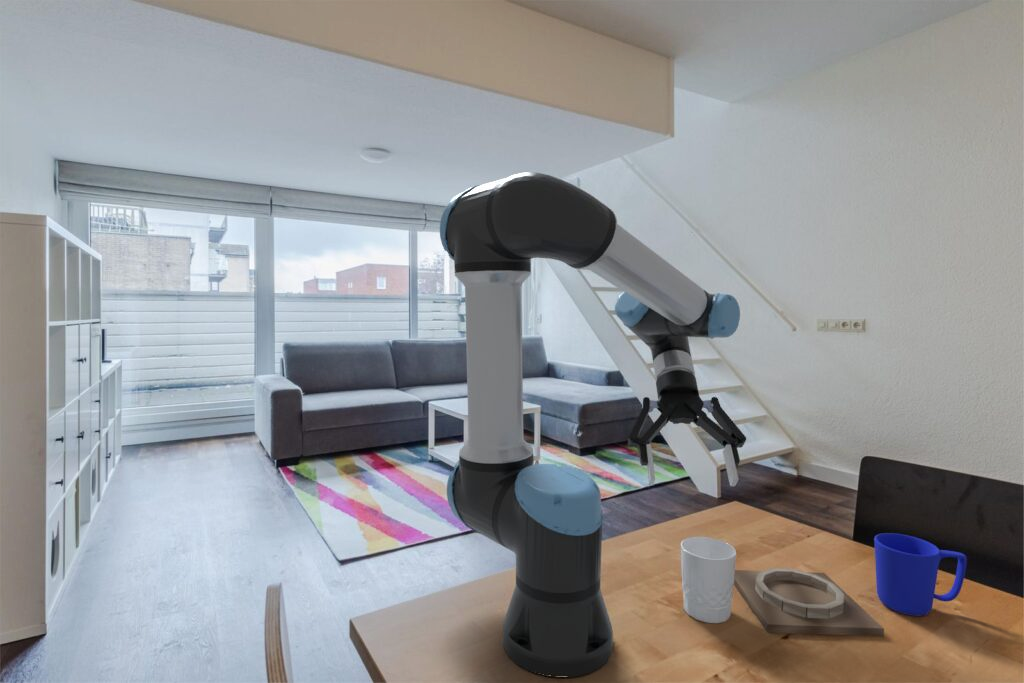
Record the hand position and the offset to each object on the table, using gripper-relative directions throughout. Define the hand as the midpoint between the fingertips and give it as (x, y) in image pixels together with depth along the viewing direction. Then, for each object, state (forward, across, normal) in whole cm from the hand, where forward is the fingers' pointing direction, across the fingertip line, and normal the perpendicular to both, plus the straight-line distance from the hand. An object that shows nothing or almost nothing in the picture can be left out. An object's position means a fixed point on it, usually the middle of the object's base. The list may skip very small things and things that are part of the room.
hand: (692, 482), depth 90 cm
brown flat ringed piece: (+17, -14, -7) cm, 23 cm away
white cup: (+19, 0, -4) cm, 20 cm away
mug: (+17, -32, -8) cm, 37 cm away
